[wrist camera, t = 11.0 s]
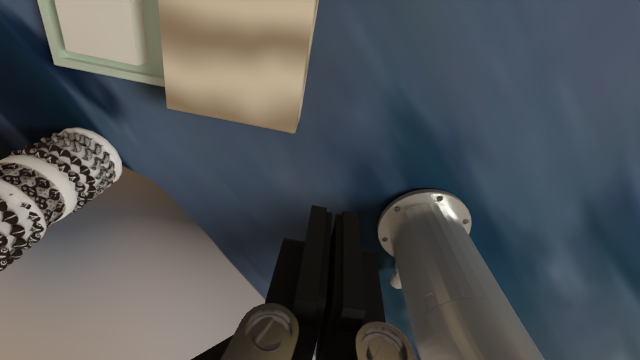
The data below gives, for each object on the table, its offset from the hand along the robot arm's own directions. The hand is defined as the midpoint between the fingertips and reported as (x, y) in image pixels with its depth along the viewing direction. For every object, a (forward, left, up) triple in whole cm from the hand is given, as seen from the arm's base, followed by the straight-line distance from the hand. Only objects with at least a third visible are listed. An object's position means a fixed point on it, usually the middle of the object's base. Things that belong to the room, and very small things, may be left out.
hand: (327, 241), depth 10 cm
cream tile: (+3, +24, -22) cm, 32 cm away
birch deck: (+3, +10, -25) cm, 27 cm away
